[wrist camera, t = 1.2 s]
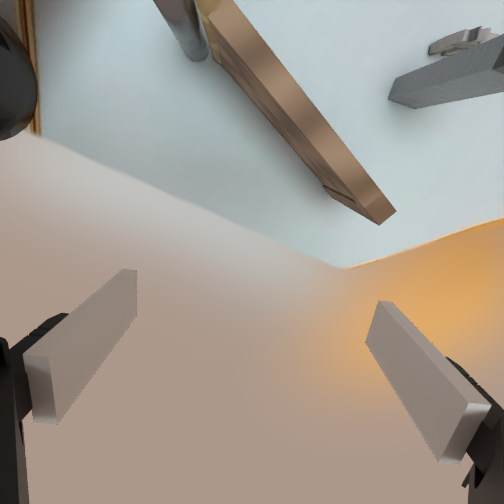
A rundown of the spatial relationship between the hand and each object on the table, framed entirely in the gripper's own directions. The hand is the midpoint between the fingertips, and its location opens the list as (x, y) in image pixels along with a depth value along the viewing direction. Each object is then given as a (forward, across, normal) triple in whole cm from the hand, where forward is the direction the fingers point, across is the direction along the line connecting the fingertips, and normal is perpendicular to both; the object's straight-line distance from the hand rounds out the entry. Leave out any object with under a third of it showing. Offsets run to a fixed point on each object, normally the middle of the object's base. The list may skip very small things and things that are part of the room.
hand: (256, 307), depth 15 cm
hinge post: (+25, -10, +19) cm, 33 cm away
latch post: (+27, +17, +18) cm, 36 cm away
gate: (+26, +2, +12) cm, 28 cm away
